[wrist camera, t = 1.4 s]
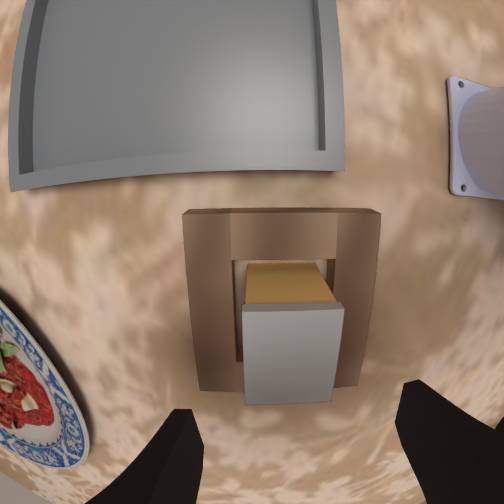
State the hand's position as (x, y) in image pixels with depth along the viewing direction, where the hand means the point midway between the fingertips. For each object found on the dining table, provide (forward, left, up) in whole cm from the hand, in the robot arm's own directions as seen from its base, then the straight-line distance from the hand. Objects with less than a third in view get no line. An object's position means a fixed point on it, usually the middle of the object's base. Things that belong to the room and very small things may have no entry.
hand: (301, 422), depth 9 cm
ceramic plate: (+29, +10, -11) cm, 33 cm away
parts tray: (+7, -16, -10) cm, 20 cm away
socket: (0, 0, -10) cm, 10 cm away
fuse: (0, 0, -10) cm, 11 cm away
